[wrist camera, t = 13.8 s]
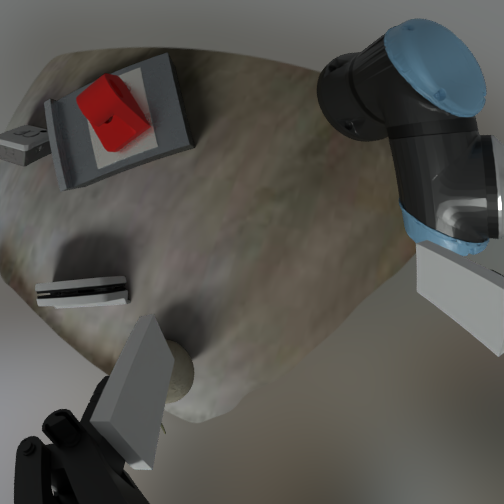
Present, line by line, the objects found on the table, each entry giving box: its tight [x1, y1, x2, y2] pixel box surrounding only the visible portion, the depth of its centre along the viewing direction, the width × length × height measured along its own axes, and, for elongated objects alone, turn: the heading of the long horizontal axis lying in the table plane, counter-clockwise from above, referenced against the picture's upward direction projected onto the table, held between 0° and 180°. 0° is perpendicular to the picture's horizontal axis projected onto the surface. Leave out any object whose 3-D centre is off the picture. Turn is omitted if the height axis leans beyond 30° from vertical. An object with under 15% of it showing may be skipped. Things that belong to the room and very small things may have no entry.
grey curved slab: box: [35, 276, 131, 308], centre depth 41 cm, size 17×5×10 cm, turn 96°
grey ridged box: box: [44, 53, 195, 192], centre depth 34 cm, size 19×14×8 cm
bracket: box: [76, 73, 151, 152], centre depth 27 cm, size 9×6×10 cm
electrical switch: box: [0, 125, 52, 166], centre depth 32 cm, size 9×5×9 cm, turn 69°
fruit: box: [161, 339, 194, 434], centre depth 42 cm, size 10×12×15 cm
